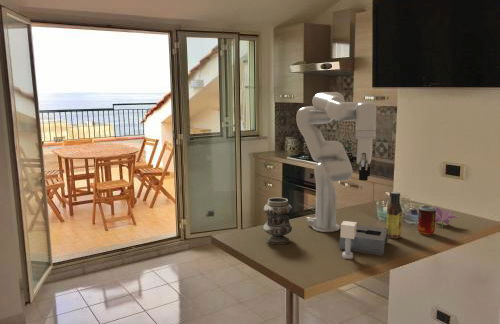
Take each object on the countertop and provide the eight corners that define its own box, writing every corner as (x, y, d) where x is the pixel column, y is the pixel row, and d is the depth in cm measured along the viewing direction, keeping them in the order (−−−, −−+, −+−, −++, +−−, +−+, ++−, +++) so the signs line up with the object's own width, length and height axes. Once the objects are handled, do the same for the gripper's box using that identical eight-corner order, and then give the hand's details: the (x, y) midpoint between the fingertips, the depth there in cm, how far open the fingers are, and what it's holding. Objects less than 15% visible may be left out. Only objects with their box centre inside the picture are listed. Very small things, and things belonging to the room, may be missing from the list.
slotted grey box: (339, 249, 174) (340, 235, 173) (347, 236, 188) (347, 223, 187) (383, 255, 167) (384, 240, 166) (387, 242, 182) (388, 228, 181)
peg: (339, 258, 165) (340, 224, 162) (342, 253, 169) (343, 220, 167) (352, 260, 163) (354, 226, 160) (355, 255, 167) (356, 222, 165)
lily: (461, 230, 200) (460, 210, 203) (449, 225, 193) (448, 204, 196) (436, 232, 209) (436, 213, 212) (424, 227, 202) (423, 207, 205)
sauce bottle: (401, 239, 185) (404, 194, 181) (386, 238, 186) (388, 194, 183) (399, 234, 191) (402, 191, 188) (384, 233, 192) (387, 190, 189)
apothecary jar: (285, 234, 192) (285, 195, 189) (296, 243, 181) (297, 201, 178) (259, 237, 188) (259, 197, 185) (269, 246, 177) (269, 204, 174)
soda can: (421, 230, 197) (423, 204, 195) (437, 233, 192) (439, 207, 190) (414, 233, 193) (416, 207, 191) (429, 237, 188) (431, 210, 186)
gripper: (358, 132, 176) (357, 174, 179) (352, 136, 160) (352, 181, 163) (377, 133, 174) (376, 175, 176) (373, 136, 158) (372, 182, 160)
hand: (364, 178), depth 170 cm, fingers open, 9 cm apart
